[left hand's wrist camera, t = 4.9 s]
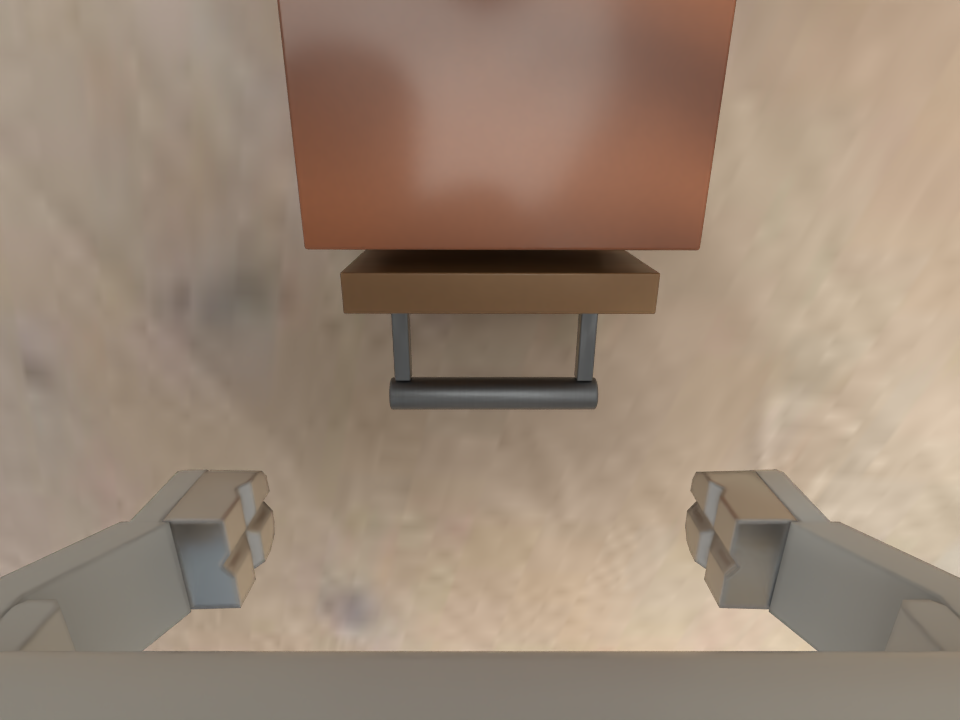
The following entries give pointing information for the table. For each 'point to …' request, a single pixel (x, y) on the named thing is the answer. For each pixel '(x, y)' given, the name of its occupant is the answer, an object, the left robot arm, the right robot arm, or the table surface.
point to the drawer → (497, 290)
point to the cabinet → (504, 121)
